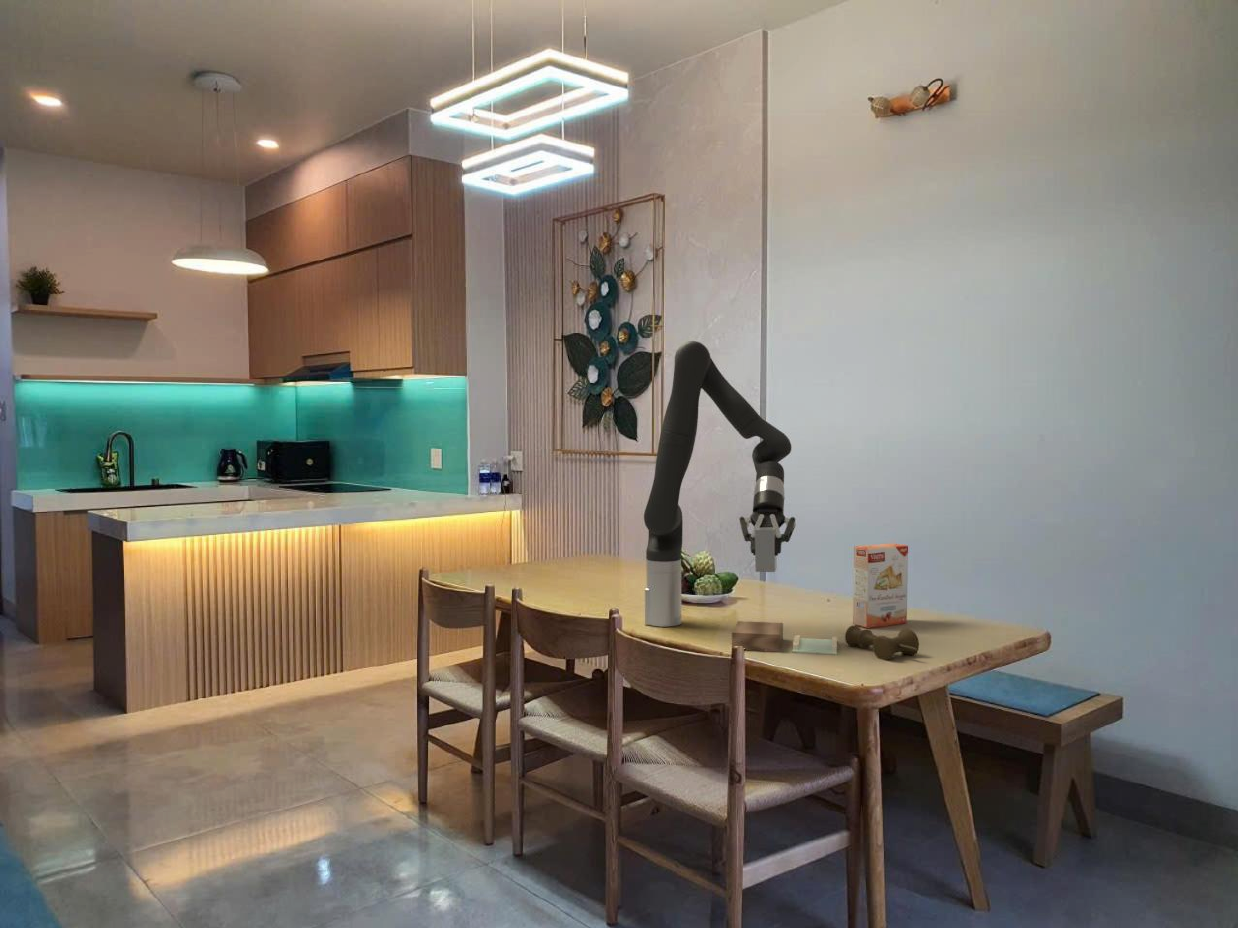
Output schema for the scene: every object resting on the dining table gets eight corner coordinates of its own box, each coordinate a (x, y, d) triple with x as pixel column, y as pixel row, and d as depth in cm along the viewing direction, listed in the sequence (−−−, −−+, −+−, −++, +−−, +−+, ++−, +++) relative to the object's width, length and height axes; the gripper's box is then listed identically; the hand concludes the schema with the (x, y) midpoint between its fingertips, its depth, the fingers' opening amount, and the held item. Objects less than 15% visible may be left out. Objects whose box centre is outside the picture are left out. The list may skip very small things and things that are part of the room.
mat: (792, 652, 216) (792, 646, 216) (795, 639, 229) (795, 633, 229) (836, 654, 214) (836, 648, 214) (837, 641, 226) (837, 635, 226)
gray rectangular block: (755, 571, 221) (754, 529, 220) (757, 567, 227) (757, 526, 226) (774, 572, 220) (774, 529, 219) (776, 568, 226) (776, 527, 225)
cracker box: (868, 629, 239) (868, 548, 238) (852, 624, 245) (852, 545, 244) (908, 623, 246) (909, 544, 245) (892, 619, 251) (892, 542, 250)
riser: (732, 649, 219) (731, 632, 219) (738, 637, 232) (738, 621, 232) (779, 651, 217) (779, 634, 217) (782, 639, 229) (782, 622, 229)
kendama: (866, 644, 226) (933, 659, 209) (837, 651, 221) (903, 667, 204) (865, 620, 225) (932, 633, 208) (836, 626, 220) (902, 639, 203)
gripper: (738, 488, 231) (733, 543, 220) (797, 488, 228) (795, 544, 217) (741, 508, 237) (736, 562, 225) (798, 508, 233) (796, 563, 222)
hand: (765, 553), depth 221 cm, fingers closed on gray rectangular block, 4 cm apart
